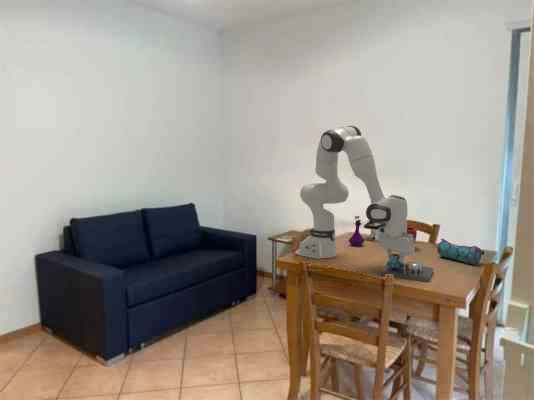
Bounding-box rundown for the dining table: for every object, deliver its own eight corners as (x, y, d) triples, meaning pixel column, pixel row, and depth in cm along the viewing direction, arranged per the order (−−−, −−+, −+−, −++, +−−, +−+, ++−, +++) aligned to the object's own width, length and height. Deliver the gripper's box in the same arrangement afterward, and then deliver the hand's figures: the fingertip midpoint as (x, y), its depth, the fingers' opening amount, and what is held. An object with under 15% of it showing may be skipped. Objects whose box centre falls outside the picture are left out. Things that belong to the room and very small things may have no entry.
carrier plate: (381, 274, 179) (381, 262, 178) (389, 266, 193) (389, 254, 192) (428, 282, 169) (428, 268, 168) (433, 272, 183) (433, 259, 182)
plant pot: (420, 249, 226) (421, 228, 224) (406, 252, 219) (407, 231, 217) (401, 244, 237) (402, 225, 235) (387, 247, 229) (387, 227, 228)
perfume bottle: (353, 243, 241) (353, 214, 238) (364, 245, 236) (365, 215, 234) (348, 245, 235) (348, 215, 232) (360, 247, 230) (360, 217, 228)
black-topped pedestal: (363, 233, 270) (364, 214, 269) (401, 239, 254) (402, 218, 252) (343, 241, 249) (344, 220, 247) (383, 247, 232) (384, 225, 231)
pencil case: (483, 263, 196) (485, 245, 195) (474, 266, 191) (475, 247, 190) (444, 255, 213) (445, 237, 212) (435, 257, 208) (435, 239, 207)
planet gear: (384, 266, 182) (384, 255, 181) (388, 262, 189) (389, 252, 188) (401, 268, 178) (402, 258, 177) (405, 264, 185) (406, 254, 184)
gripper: (419, 234, 173) (417, 264, 175) (386, 226, 192) (385, 254, 193) (408, 235, 171) (407, 266, 172) (376, 227, 189) (375, 255, 191)
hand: (395, 260), depth 183 cm, fingers closed on planet gear, 5 cm apart
